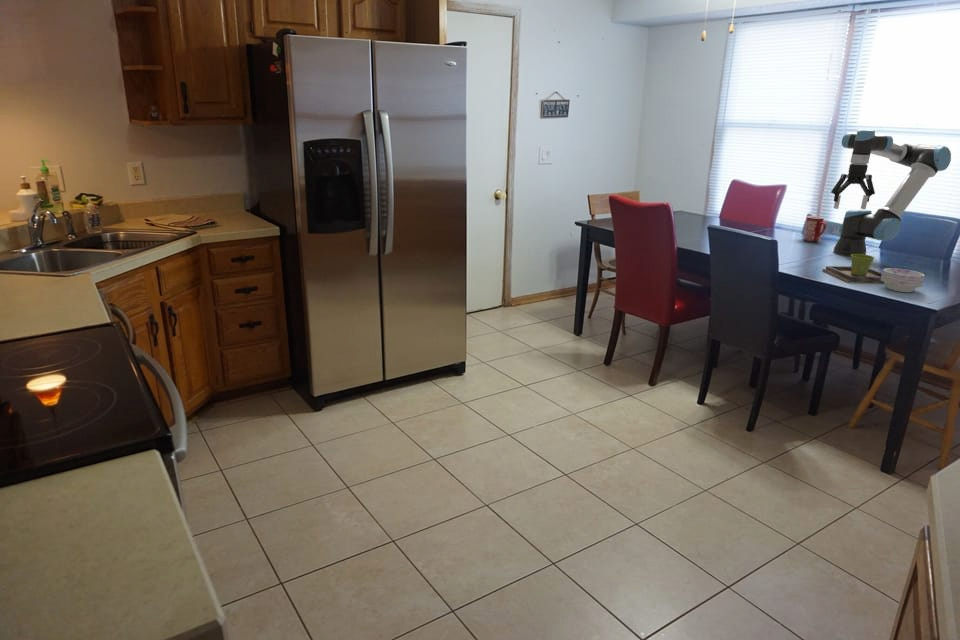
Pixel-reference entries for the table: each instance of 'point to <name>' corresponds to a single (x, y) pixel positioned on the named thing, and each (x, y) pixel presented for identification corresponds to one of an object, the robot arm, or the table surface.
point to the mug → (814, 228)
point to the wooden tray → (846, 275)
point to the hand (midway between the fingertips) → (849, 208)
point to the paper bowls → (902, 279)
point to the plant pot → (860, 264)
